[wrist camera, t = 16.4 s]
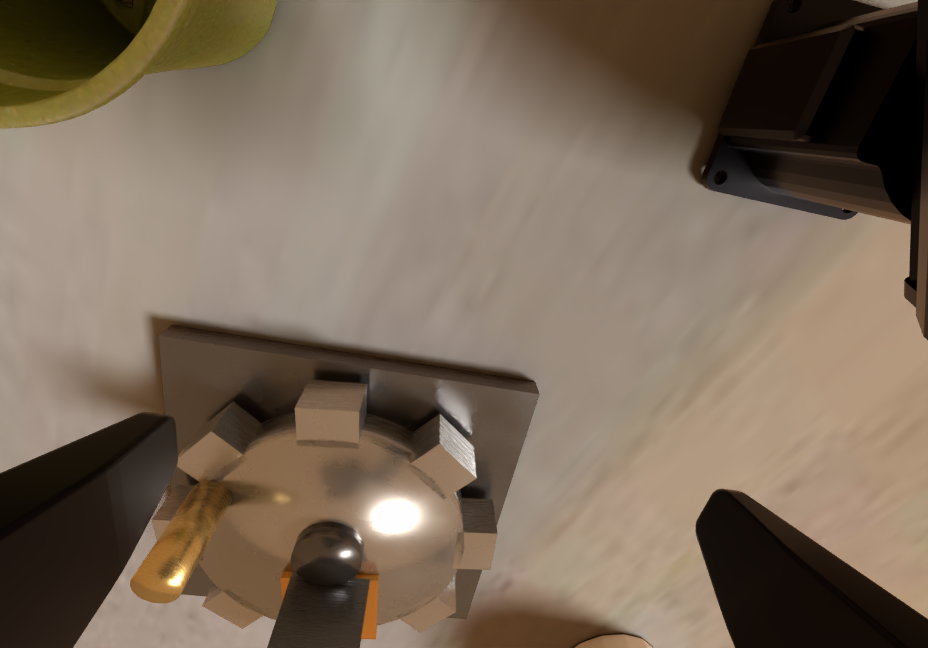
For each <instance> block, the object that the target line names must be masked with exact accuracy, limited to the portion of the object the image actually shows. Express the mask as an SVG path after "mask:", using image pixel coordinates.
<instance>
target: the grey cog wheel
mask: <svg viewBox="0 0 928 648" xmlns="http://www.w3.org/2000/svg"><path fill="white" fill-rule="evenodd" d="M177 467H178V468H180V469H181V470H183V471H184V472H186V473H187V474H189V475H190V476H192V477H193V478H194V479H196V480H197V481H199V483H197V484H196V485H177V486H176V487H175V488H174V490H173V491H172V492H171V494H170V495H169V497H168V498H167V499H166V501H165V502H164V504H163V505H162V506H161V508H160V509H159V511H158V512H157V513H156V515H155V516H154V517H153V519H152V523H153V527H154V531H155V535H156V539H157V542H156V543H155V545H154V546H153V548H152V549H151V551H150V552H149V554H148V555H147V557H146V558H145V560H144V561H143V563H142V564H141V566H140V567H139V569H138V570H137V572H136V573H135V575H134V576H133V578H132V579H131V581H130V587H131V589H132V591H133V592H134V593H135V594H136V595H137V596H138V597H140V598H142V599H144V600H146V601H149V602H153V603H168V602H172V601H174V600H176V599H177V598H178V597H179V596H180V595H181V593H182V591H183V589H184V587H185V585H186V584H187V582H188V580H189V578H190V576H191V575H192V573H193V571H194V569H195V567H196V565H197V564H198V562H199V564H200V566H201V567H202V569H203V570H204V572H205V573H206V574H207V576H208V577H209V578H210V579H211V580H212V581H213V582H214V583H213V585H212V587H211V589H210V591H209V593H208V595H207V597H206V599H205V601H204V603H203V605H202V606H203V607H205V608H207V609H209V610H210V611H212V612H214V613H216V614H217V615H219V616H221V617H223V618H224V619H226V620H228V621H230V622H231V623H233V624H235V625H237V626H238V627H240V628H242V629H243V628H244V627H246V626H248V625H249V624H251V623H252V622H254V621H255V620H257V619H259V618H260V617H262V616H263V615H264V616H266V617H268V618H271V619H274V620H277V617H278V614H279V611H280V608H281V605H282V601H283V598H284V595H285V592H286V589H287V586H288V583H289V580H290V577H291V574H292V572H296V573H297V574H298V575H299V576H300V577H301V578H303V579H305V580H306V581H309V582H311V583H314V584H319V585H338V584H342V583H345V582H348V581H349V580H351V579H353V578H361V579H370V584H369V590H368V597H367V603H366V610H365V616H364V622H363V629H362V635H361V639H376V634H377V625H381V624H384V623H388V622H391V621H394V620H397V619H401V620H402V621H404V622H405V623H407V624H408V625H410V626H411V627H412V628H414V629H415V630H417V631H418V632H421V631H423V630H425V629H427V628H429V627H430V626H432V625H434V624H436V623H437V622H439V621H441V620H443V619H445V618H446V617H448V616H450V615H452V614H454V613H455V612H456V594H455V574H456V572H457V570H458V569H480V570H490V569H491V564H492V559H493V554H494V549H495V543H496V538H497V527H496V520H495V512H494V504H493V499H474V498H462V496H461V490H460V489H461V488H462V487H464V486H466V485H467V484H469V483H470V482H472V481H473V480H475V479H476V478H477V477H476V466H475V456H474V446H473V445H472V444H471V443H470V442H468V441H467V440H466V439H465V438H464V437H463V436H462V435H461V434H460V433H459V432H458V431H457V430H456V429H455V428H454V427H453V426H452V425H451V424H450V423H449V422H448V421H447V420H446V419H445V418H444V417H443V416H442V415H441V414H439V415H437V416H436V417H435V418H433V419H432V420H430V421H429V422H428V423H426V424H425V425H423V426H422V427H420V428H419V429H418V430H416V431H415V432H412V431H411V430H409V429H408V428H406V427H403V426H401V425H399V424H397V423H395V422H393V421H390V420H387V419H384V418H381V417H378V416H375V415H371V414H367V383H352V382H337V381H322V380H309V381H308V383H307V385H306V387H305V389H304V391H303V393H302V395H301V397H300V399H299V401H298V403H297V404H296V406H295V412H294V413H290V414H285V415H282V416H279V417H276V418H273V419H270V420H268V421H266V422H264V423H261V422H259V421H258V420H257V419H255V418H254V417H253V416H252V415H250V414H249V413H248V412H247V411H245V410H244V409H243V408H241V407H240V406H239V405H238V404H236V403H235V402H234V401H233V402H232V403H230V404H229V405H228V406H227V407H226V408H224V409H223V410H222V411H221V412H220V413H218V414H217V415H216V416H215V417H214V418H212V419H211V420H210V421H209V422H207V423H206V424H205V425H204V426H203V427H201V428H200V429H199V430H198V431H197V432H196V433H195V434H194V436H193V437H192V438H191V440H190V441H189V442H188V443H187V445H186V446H185V447H184V449H183V450H182V451H181V452H180V454H179V455H178V463H177Z"/></svg>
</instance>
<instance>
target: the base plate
mask: <svg viewBox="0 0 928 648" xmlns="http://www.w3.org/2000/svg"><path fill="white" fill-rule="evenodd" d="M158 337H159V349H160V361H161V373H162V385H163V398H164V410H165V414H166V415H170V416H172V417H173V418H174V420H175V423H176V432H177V447H178V455H179V454H180V452H181V451H182V450H183V449H184V447H185V446H186V445H187V443H188V442H189V441H190V440H191V438H192V437H193V436H194V434H195V433H196V432H197V431H198V430H199V429H200V428H201V427H203V426H204V425H205V424H206V423H207V422H209V421H210V420H211V419H212V418H214V417H215V416H216V415H217V414H218V413H220V412H221V411H222V410H223V409H224V408H226V407H227V406H228V405H229V404H230V403H232V402H233V401H234V402H235V403H236V404H238V405H239V406H240V407H241V408H243V409H244V410H245V411H247V412H248V413H249V414H250V415H252V416H253V417H254V418H255V419H257V420H258V421H259V422H261V423H264V422H266V421H268V420H270V419H273V418H276V417H279V416H282V415H285V414H290V413H294V412H295V406H296V404H297V403H298V401H299V399H300V397H301V395H302V393H303V391H304V389H305V387H306V385H307V383H308V381H309V380H322V381H337V382H352V383H367V414H371V415H375V416H378V417H381V418H384V419H387V420H390V421H393V422H395V423H397V424H399V425H401V426H403V427H406V428H408V429H409V430H411V431H412V432H415V431H416V430H418V429H419V428H420V427H422V426H423V425H425V424H426V423H428V422H429V421H430V420H432V419H433V418H435V417H436V416H437V415H439V414H441V415H442V416H443V417H444V418H445V419H446V420H447V421H448V422H449V423H450V424H451V425H452V426H453V427H454V428H455V429H456V430H457V431H458V432H459V433H460V434H461V435H462V436H463V437H464V438H465V439H466V440H467V441H468V442H470V443H471V444H472V445H473V446H474V456H475V466H476V477H477V478H476V479H475V480H473V481H472V482H470V483H469V484H467V485H466V486H464V487H462V488H461V489H460V490H461V496H462V498H474V499H493V504H494V512H495V520H496V526H497V523H498V520H499V517H500V514H501V511H502V508H503V504H504V501H505V498H506V495H507V492H508V489H509V486H510V483H511V480H512V477H513V474H514V471H515V468H516V465H517V462H518V459H519V455H520V452H521V449H522V446H523V443H524V440H525V437H526V434H527V431H528V428H529V425H530V422H531V419H532V416H533V413H534V410H535V406H536V403H537V400H538V397H539V391H538V389H537V386H536V383H535V382H531V381H524V380H518V379H512V378H505V377H499V376H492V375H486V374H480V373H473V372H467V371H461V370H454V369H448V368H441V367H435V366H429V365H422V364H416V363H410V362H403V361H397V360H390V359H384V358H378V357H371V356H365V355H359V354H352V353H346V352H339V351H333V350H327V349H320V348H314V347H307V346H301V345H295V344H288V343H282V342H276V341H269V340H263V339H256V338H250V337H244V336H237V335H231V334H225V333H218V332H212V331H205V330H199V329H193V328H186V327H180V326H174V325H172V326H170V327H169V328H168V329H167V330H165V331H164V332H163V333H161V334H160V335H159V336H158ZM170 483H171V492H172V491H173V490H174V488H175V487H176V486H177V485H196V484H197V483H199V481H197V480H196V479H194V478H193V477H192V476H190V475H189V474H187V473H186V472H184V471H183V470H181V469H180V468H178V467H176V470H175V472H174V475H173V477H172V478H171V480H170ZM481 572H482V570H480V569H458V570H457V572H456V574H455V594H456V612H455V613H454V614H452V615H450V616H448V617H449V618H461V619H466V618H467V615H468V612H469V609H470V606H471V602H472V599H473V596H474V593H475V590H476V587H477V584H478V581H479V578H480V575H481ZM213 583H214V582H213V581H212V580H211V579H210V578H209V577H208V576H207V574H206V573H205V572H204V570H203V569H202V567H201V566H200V564H199V562H198V564H197V565H196V567H195V569H194V571H193V573H192V575H191V576H190V578H189V580H188V582H187V584H186V585H185V587H184V589H183V591H182V593H181V594H185V595H196V596H207V595H208V593H209V591H210V589H211V587H212V585H213Z"/></svg>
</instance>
